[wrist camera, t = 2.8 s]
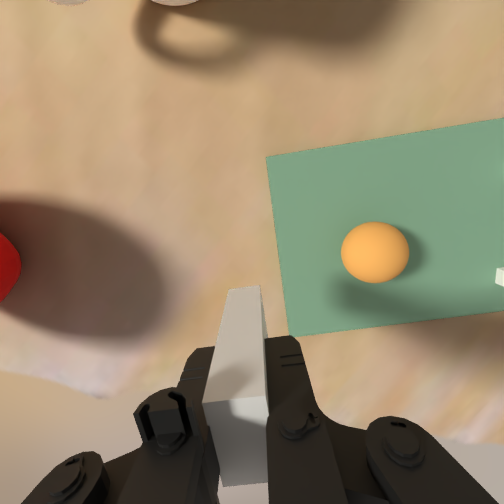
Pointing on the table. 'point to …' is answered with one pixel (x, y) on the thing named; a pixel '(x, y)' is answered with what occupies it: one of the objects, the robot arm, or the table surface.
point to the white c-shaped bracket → (500, 276)
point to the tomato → (8, 266)
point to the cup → (166, 0)
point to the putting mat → (398, 215)
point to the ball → (375, 252)
